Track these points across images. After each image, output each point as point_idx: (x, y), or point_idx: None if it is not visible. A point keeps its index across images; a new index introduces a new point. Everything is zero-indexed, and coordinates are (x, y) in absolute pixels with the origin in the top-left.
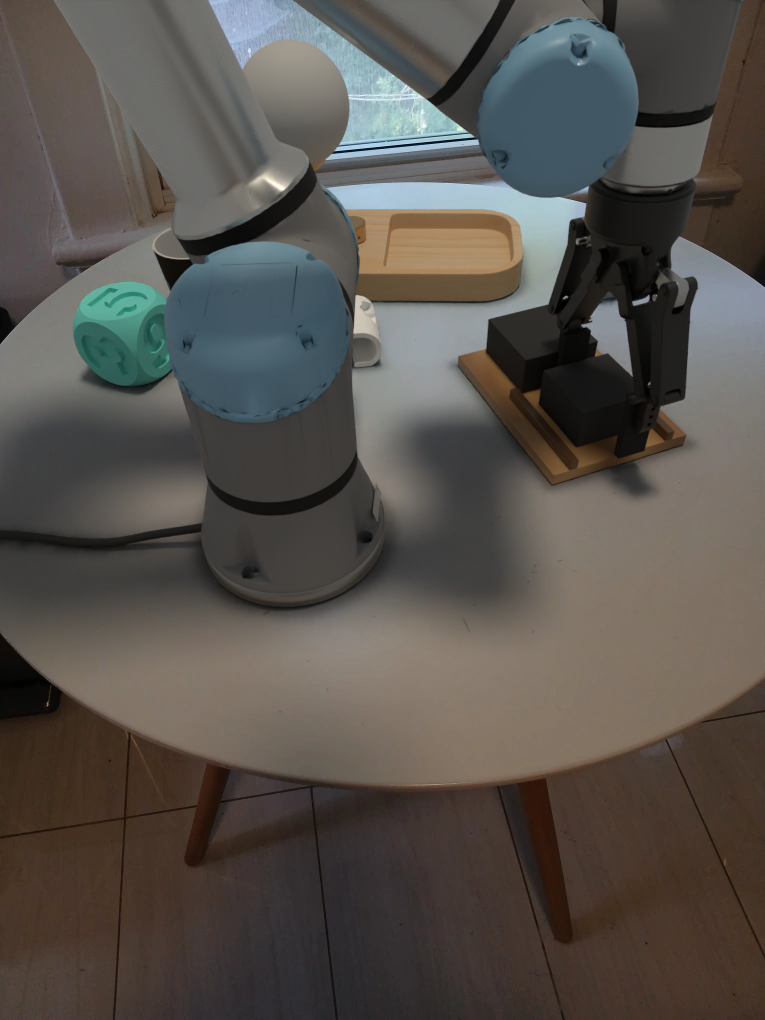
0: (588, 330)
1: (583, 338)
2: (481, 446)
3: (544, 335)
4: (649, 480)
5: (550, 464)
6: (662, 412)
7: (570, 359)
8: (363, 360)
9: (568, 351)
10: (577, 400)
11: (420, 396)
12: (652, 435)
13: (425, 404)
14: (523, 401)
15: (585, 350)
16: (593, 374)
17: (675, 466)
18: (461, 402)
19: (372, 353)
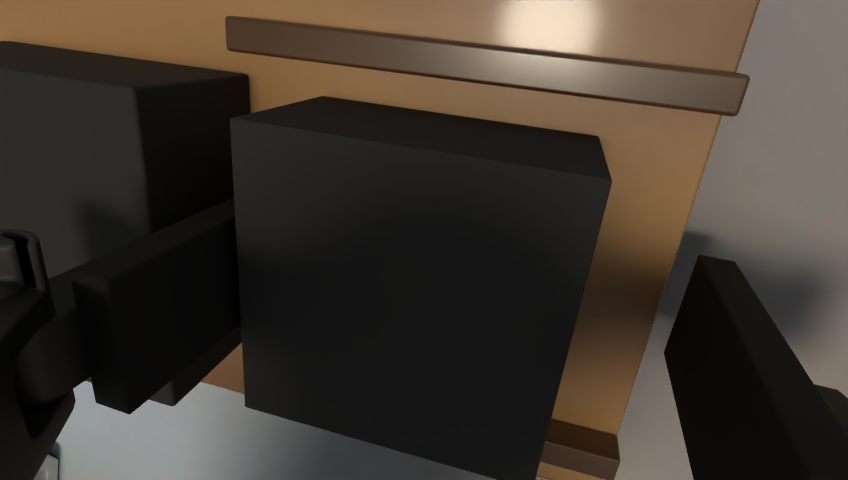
0: (102, 291)
1: (144, 299)
2: (382, 477)
3: (51, 256)
4: (786, 252)
5: (556, 471)
6: None
7: (223, 302)
8: (41, 475)
9: (192, 337)
10: (455, 451)
11: (176, 454)
12: (661, 130)
13: (205, 464)
14: None
15: (198, 245)
16: (342, 288)
17: (810, 120)
18: (223, 408)
19: None
